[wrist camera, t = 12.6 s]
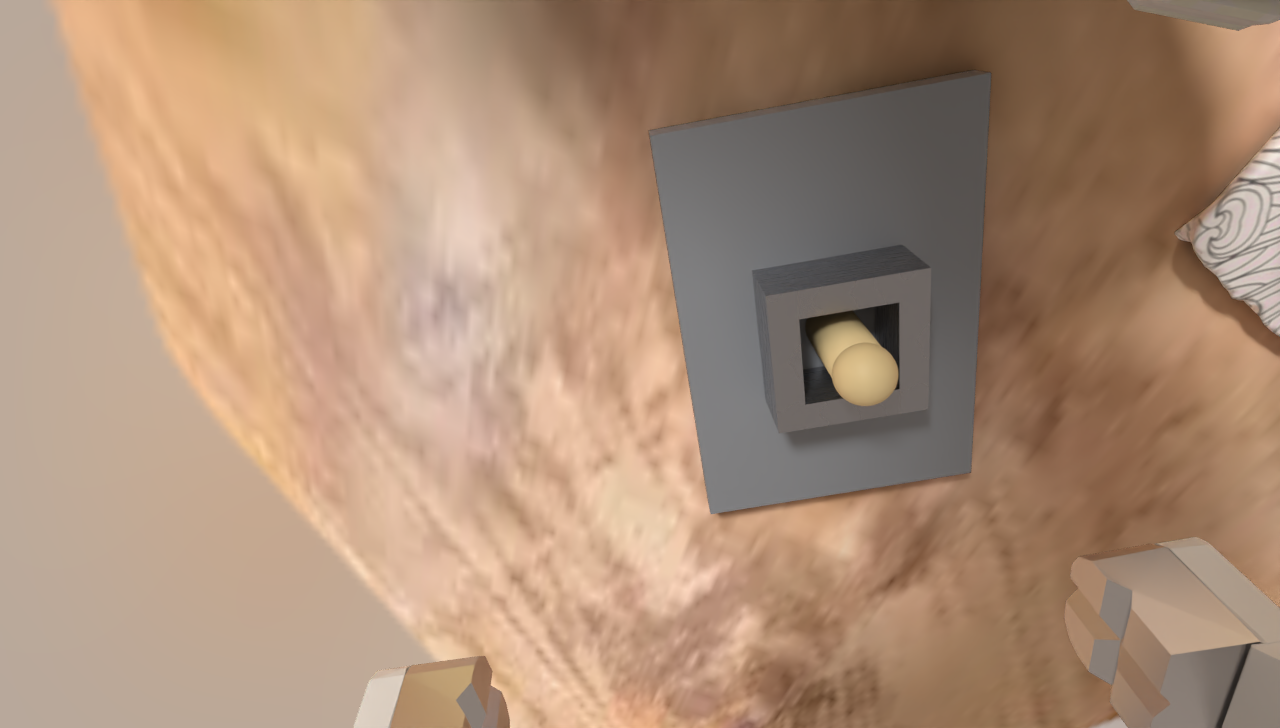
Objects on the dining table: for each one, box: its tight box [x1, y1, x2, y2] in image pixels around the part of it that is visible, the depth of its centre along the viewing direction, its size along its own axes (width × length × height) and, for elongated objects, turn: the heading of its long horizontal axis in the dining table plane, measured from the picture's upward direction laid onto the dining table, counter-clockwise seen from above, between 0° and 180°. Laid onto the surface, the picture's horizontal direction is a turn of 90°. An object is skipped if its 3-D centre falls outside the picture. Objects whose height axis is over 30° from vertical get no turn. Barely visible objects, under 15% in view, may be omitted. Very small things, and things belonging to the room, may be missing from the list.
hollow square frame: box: [752, 245, 931, 433], centre depth 32 cm, size 7×7×3 cm
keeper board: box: [648, 70, 991, 514], centre depth 31 cm, size 20×14×8 cm
